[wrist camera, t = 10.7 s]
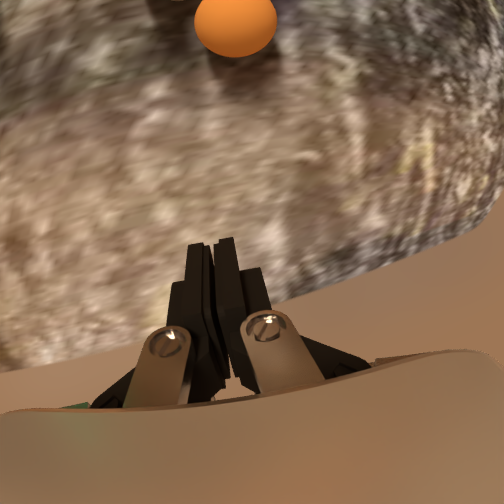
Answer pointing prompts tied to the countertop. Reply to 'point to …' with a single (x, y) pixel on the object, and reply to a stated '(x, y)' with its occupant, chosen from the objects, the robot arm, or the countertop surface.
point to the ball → (235, 26)
